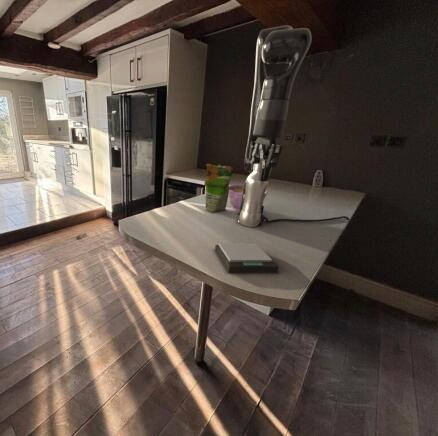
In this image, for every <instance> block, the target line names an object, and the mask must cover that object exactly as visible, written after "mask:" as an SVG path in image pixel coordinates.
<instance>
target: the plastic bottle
mask: <svg viewBox="0 0 438 436" xmlns="http://www.w3.org/2000/svg"><path fill="white" fill-rule="evenodd" d="M253 170H254V171H253V172H252V173H251V174H250V173H249V175H248V176H247V178H246V179H245V181H246V192H245V200H244V204H243V208H242V210H241V213H240V216H239V215H238V216H239V221H240V223H241V224H242V226H244V225H245V226H244V227H250V228H255V227H258V226H259V225H258V224H259V222H260V220H261V206H262V201H263V197H264V194H265V191H267V188H268V186H269V182H268V181H260V180H259V179H260V174H261V170H262V163H254V167H253ZM263 202H264V201H263ZM241 224H240V225H241ZM257 225H258V226H257Z"/></svg>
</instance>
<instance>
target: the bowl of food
mask: <svg viewBox="0 0 438 436" xmlns="http://www.w3.org/2000/svg"><path fill="white" fill-rule="evenodd" d="M243 189H244V184H232V185H229V194H228V202H229V204H230V206H231V207H232V208H234V209H235V210H236V211H238V212H239V211H240V205H241V200H242V195H243ZM267 195H268V190H266V191H265V196H264V200H263V202H264V201H265V198H266V197H267Z"/></svg>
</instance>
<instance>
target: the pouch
mask: <svg viewBox="0 0 438 436" xmlns="http://www.w3.org/2000/svg"><path fill="white" fill-rule="evenodd" d="M205 166H206V168H207V169H206V170H207V174H205V176H206V179H205V180H204V186H205V206H204V207H205V210H206V211H207V212H211V213H215V212H217V211H226V209H227V205H228V204H227V203H228V201H229V196H228V194H229V186H230V183H231V179H232V177H233V174H234V167H233V166H231V165H221V164H218V165H216V164H211V163H206V165H205Z"/></svg>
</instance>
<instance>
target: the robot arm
mask: <svg viewBox="0 0 438 436" xmlns="http://www.w3.org/2000/svg"><path fill="white" fill-rule="evenodd" d="M312 40H313V37H312V32H311V30H310V29H309V28H306V27H300V28H293V26H291V25H280V26H275V27H269V28H264V29H261V30H260V31H259V33H258V35H257V40H256V49H255V68H254V69H255V70H254V82H253V83H254V85H253V92H252V101H251V109H250V118H249V119H250V122H249V123H250V124H249V131H248V139H247V144H246V150H245V156H244V162H243V164H244V165H243V166H244V170H245V171H246V172H248V173H249V175H250V174H251V173H252V172H253V171H254V170H253V167H254V163H262V170H261V174H260V179H259V180H260V181H268V183H269V181H270V177H271V173H272V170H273V168H277V166H278V163H279V160H280V158H281V157H280V156H281V154H282V150H283V148H284V145H282V144H277V139H278V138H282V136H283V133H284V129H285V125H286V121H287V116H288V112H289V104H290V98H291V94H292V90H293V85H294V83H295V80H296V76H297V74H298V72H299V69H300V67H301V65H302V63H303V61H304V60H305V57H306V55H307V54H308V52H309V49H310V47H311V45H312ZM287 64H288V66H287V68H286V69H285V70H283V71H281V72H279V73H275V74H271V75H268V73H267V70H266V65H271V66H272V65H287ZM243 185H244V189H243V195H242V200H241V205H240V211H238V213H237V214H238V215H237V220H236V221H237V223H238V224H239V225H242V224H241V223H240V221H239V216H240V213H241V210H242V208H243V204H244V200H245V192H246V180H245V181H244V184H243ZM264 196H265V194H264ZM263 200H264V201H265V199H264V197H263ZM264 201H262V206H261V220H260V222H259V224H258V225H257V226H256V227H258V226H261V223H275V222H280V221H281V222H283V221H284V222H302V223H303V222H304V223H305V222H306V223H307V222H308V223H309V222H310V223H312V222H315V223H316V222H328V221H333V220H334V221H335V220H340V219H346V220H350V218H349V217H348V216H346V215H342V216H337V217H336V216H335V217H329V218H322V219H293V218H275V219H272V220H269V219H268V217H266V216H265V215H263V214H264V209H265V206H264V205H263V203H264ZM242 226H244V227H246V226H245V225H242Z"/></svg>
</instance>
